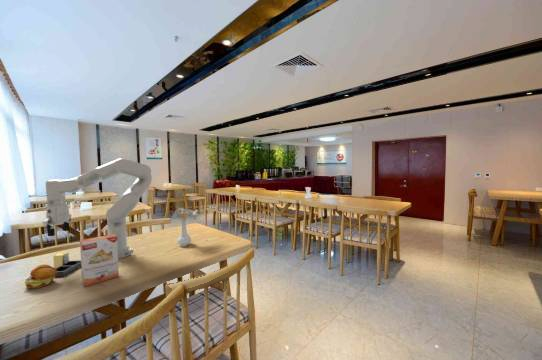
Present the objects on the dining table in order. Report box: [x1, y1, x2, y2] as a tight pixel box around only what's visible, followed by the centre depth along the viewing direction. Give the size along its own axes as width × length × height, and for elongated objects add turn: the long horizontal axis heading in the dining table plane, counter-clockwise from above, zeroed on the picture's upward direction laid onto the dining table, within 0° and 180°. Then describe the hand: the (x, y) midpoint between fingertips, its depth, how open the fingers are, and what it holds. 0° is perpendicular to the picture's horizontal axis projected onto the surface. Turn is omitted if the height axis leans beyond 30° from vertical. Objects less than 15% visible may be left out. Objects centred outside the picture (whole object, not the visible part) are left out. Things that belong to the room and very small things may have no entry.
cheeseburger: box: [24, 264, 57, 290], centre depth 112 cm, size 10×11×10 cm
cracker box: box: [79, 234, 120, 287], centre depth 116 cm, size 14×6×21 cm, turn 135°
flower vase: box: [170, 208, 199, 247], centre depth 165 cm, size 13×18×25 cm
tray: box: [55, 259, 81, 278], centre depth 127 cm, size 7×14×2 cm, turn 4°
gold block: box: [52, 251, 70, 268], centre depth 132 cm, size 5×4×7 cm
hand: (59, 233), depth 131 cm, fingers open, 9 cm apart
